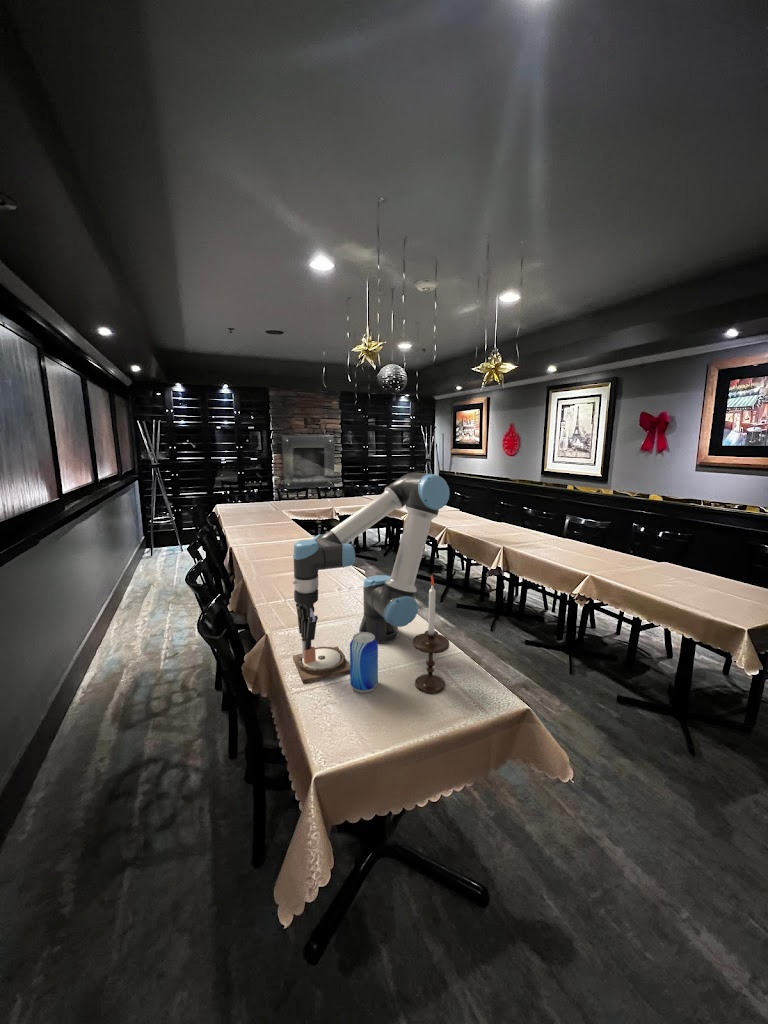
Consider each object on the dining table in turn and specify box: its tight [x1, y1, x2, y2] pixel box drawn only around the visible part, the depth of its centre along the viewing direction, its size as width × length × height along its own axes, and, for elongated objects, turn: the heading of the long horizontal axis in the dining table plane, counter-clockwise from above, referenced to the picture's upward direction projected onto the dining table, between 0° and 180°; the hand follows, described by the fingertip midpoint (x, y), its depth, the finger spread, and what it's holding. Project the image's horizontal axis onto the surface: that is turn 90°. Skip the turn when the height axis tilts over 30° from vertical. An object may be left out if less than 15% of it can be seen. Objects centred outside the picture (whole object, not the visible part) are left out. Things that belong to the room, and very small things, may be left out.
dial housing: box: [292, 646, 350, 684], centre depth 134 cm, size 16×16×3 cm
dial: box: [302, 646, 341, 669], centre depth 134 cm, size 13×13×6 cm
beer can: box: [349, 632, 379, 694], centre depth 121 cm, size 8×8×16 cm
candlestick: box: [412, 574, 450, 695], centre depth 121 cm, size 11×11×35 cm
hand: (306, 656), depth 132 cm, fingers closed
